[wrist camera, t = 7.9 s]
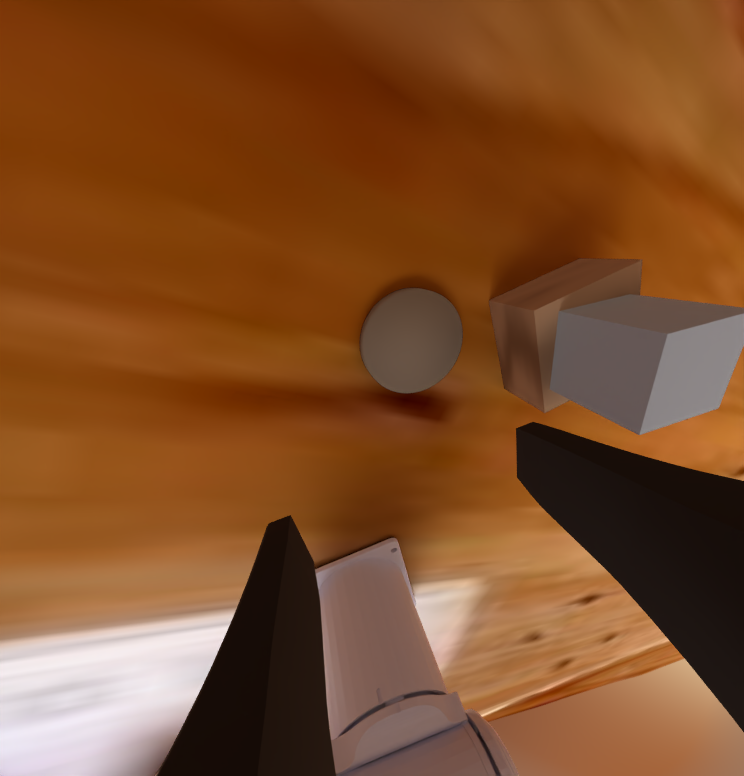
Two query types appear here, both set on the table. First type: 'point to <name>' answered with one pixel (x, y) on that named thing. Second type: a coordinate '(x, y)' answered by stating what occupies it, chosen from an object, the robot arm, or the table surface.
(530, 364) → the walnut block
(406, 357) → the smooth gray stone
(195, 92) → the table surface
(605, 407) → the gray block
